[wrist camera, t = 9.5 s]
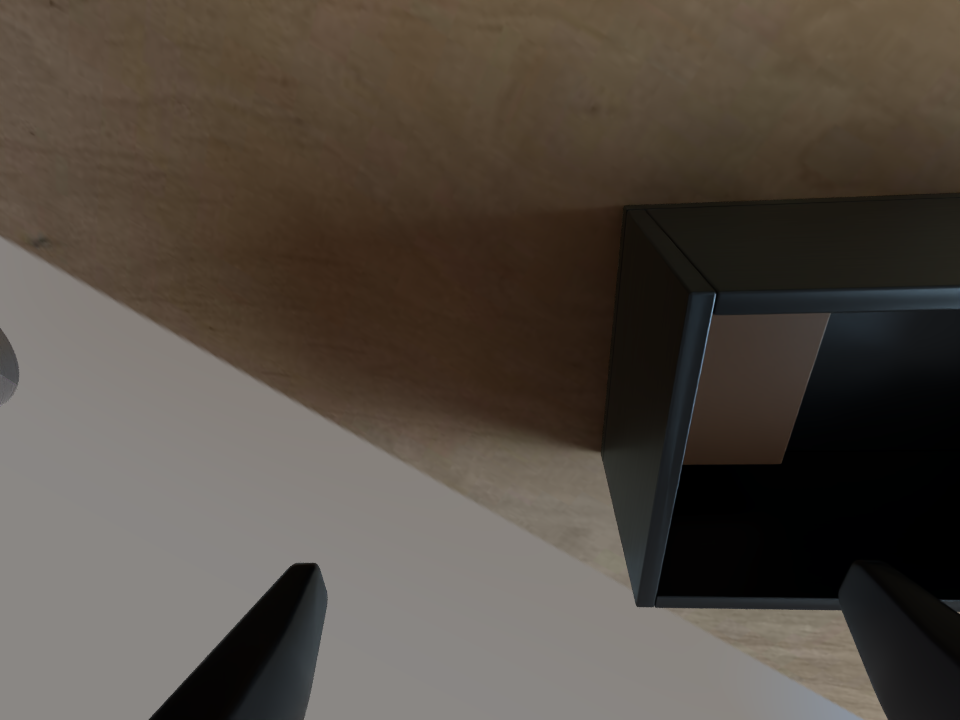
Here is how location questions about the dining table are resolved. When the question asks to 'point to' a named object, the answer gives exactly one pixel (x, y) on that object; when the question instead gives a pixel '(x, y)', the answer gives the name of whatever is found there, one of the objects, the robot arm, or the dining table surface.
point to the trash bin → (824, 408)
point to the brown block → (752, 387)
